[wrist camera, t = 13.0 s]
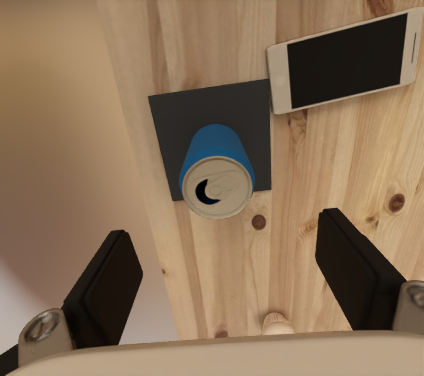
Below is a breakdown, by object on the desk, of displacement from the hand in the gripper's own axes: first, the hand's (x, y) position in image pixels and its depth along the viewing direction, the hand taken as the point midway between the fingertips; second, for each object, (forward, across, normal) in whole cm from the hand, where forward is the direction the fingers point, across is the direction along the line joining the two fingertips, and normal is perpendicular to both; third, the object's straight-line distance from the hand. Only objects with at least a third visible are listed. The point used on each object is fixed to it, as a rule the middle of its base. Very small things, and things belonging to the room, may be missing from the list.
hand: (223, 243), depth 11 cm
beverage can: (+20, 0, +1) cm, 20 cm away
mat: (+20, +1, +1) cm, 20 cm away
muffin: (+20, -6, +36) cm, 41 cm away
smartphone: (+20, -14, -6) cm, 26 cm away
